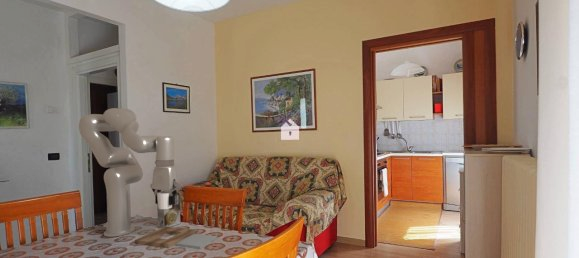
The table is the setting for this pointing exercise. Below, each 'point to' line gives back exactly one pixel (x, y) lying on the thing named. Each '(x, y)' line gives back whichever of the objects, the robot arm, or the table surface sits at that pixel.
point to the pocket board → (166, 243)
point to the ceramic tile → (196, 241)
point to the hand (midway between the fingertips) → (165, 203)
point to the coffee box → (170, 214)
